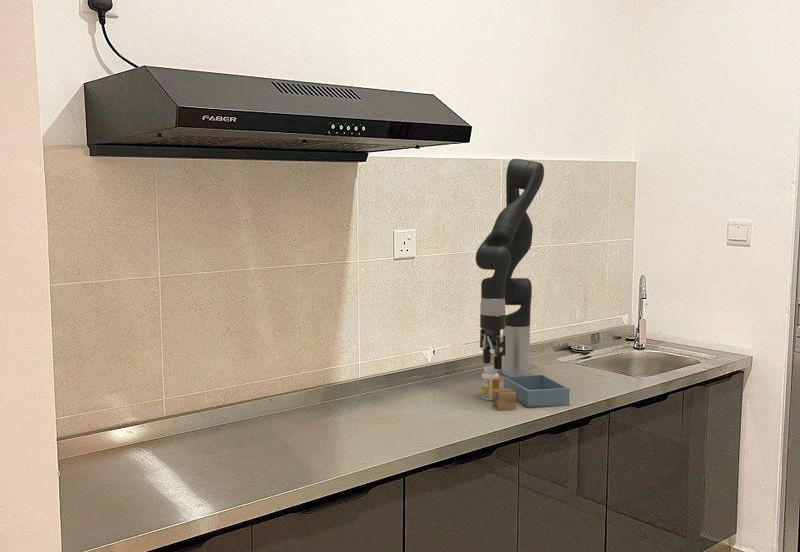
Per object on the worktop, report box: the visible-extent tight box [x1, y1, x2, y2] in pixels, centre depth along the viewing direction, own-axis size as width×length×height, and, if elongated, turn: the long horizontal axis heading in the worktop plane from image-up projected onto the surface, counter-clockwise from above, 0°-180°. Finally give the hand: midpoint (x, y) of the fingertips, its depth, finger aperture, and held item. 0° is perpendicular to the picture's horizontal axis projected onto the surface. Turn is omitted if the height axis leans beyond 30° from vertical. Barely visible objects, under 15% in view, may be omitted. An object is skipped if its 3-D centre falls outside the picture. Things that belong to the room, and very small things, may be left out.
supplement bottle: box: [480, 365, 500, 401], centre depth 232 cm, size 5×5×10 cm
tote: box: [502, 374, 571, 409], centre depth 232 cm, size 18×13×5 cm
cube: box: [492, 388, 517, 412], centre depth 222 cm, size 5×5×5 cm
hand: (492, 366), depth 231 cm, fingers open, 8 cm apart
